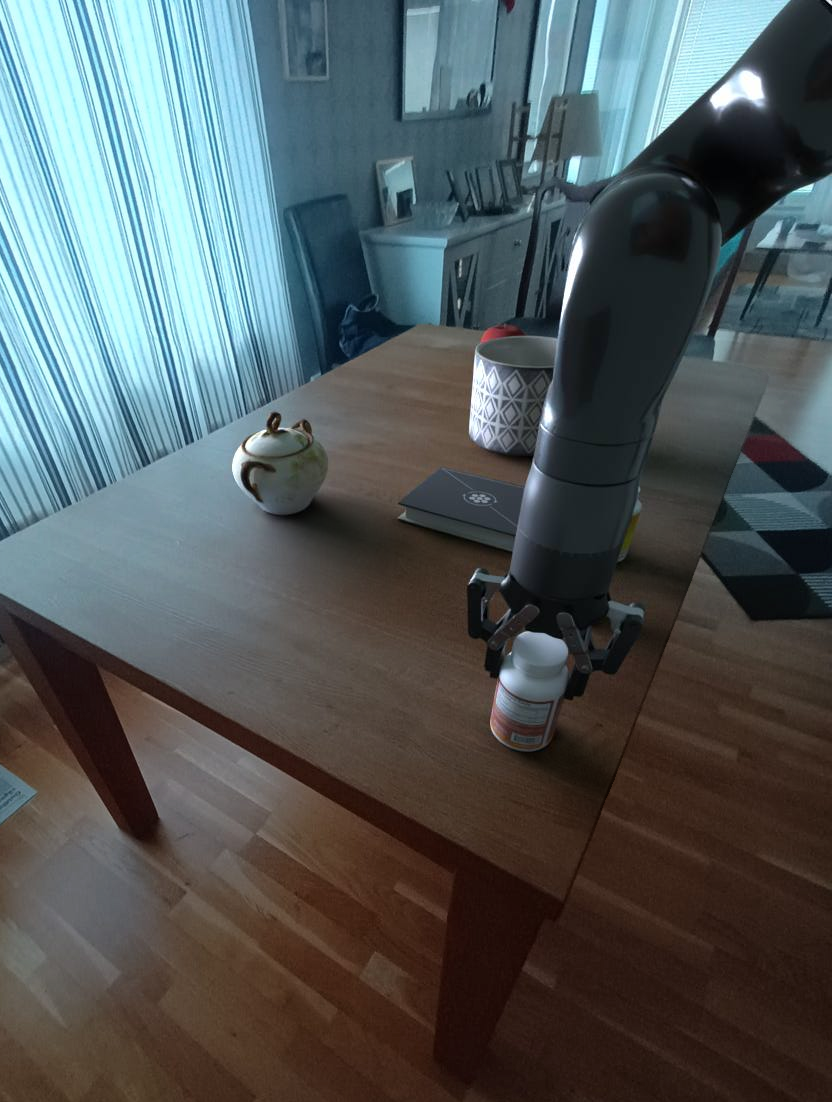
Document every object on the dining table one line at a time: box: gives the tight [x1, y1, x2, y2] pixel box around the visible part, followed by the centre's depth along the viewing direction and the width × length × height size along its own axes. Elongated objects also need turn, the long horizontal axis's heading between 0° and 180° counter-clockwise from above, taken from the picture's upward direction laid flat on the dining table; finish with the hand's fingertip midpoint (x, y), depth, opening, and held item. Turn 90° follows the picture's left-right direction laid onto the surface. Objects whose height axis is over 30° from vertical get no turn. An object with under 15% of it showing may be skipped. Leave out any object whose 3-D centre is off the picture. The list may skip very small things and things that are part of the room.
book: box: [397, 466, 525, 554], centre depth 88 cm, size 22×15×3 cm
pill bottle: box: [490, 631, 570, 752], centre depth 54 cm, size 6×6×11 cm
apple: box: [479, 322, 526, 344], centre depth 136 cm, size 11×11×12 cm
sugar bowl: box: [231, 410, 329, 516], centre depth 90 cm, size 20×15×15 cm
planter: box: [468, 335, 558, 457], centre depth 104 cm, size 19×19×16 cm
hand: (532, 682), depth 53 cm, fingers closed on pill bottle, 6 cm apart
